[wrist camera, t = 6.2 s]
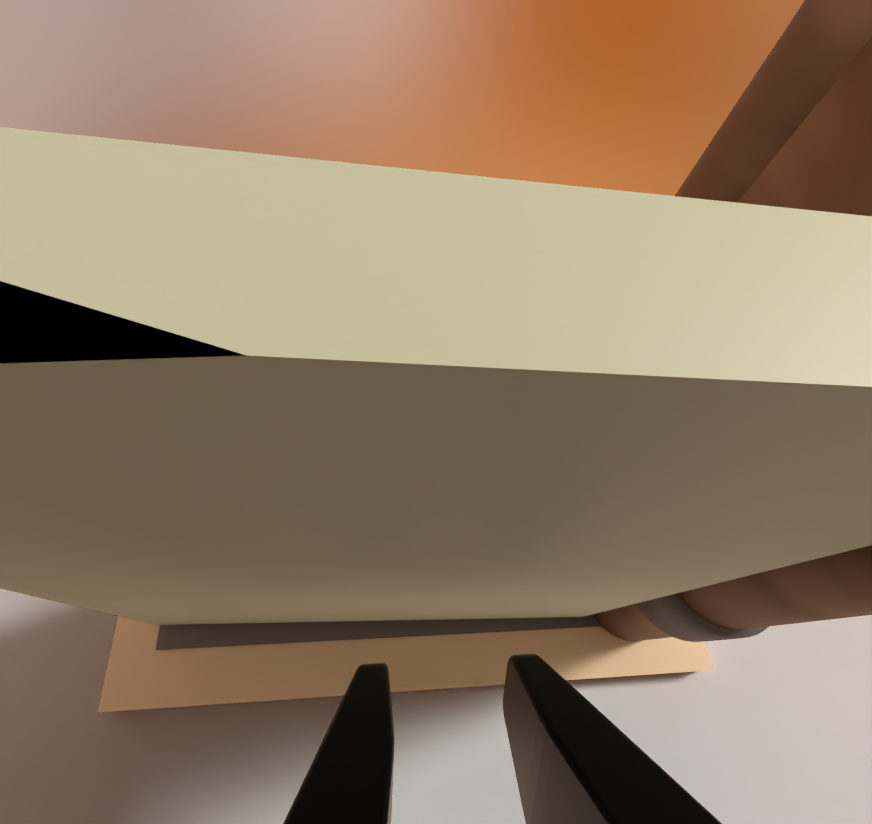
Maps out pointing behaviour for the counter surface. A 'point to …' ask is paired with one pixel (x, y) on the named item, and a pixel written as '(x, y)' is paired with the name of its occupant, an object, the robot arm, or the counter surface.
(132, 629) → the light wood flat board
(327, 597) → the beige rectangular block
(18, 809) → the counter surface
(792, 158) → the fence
